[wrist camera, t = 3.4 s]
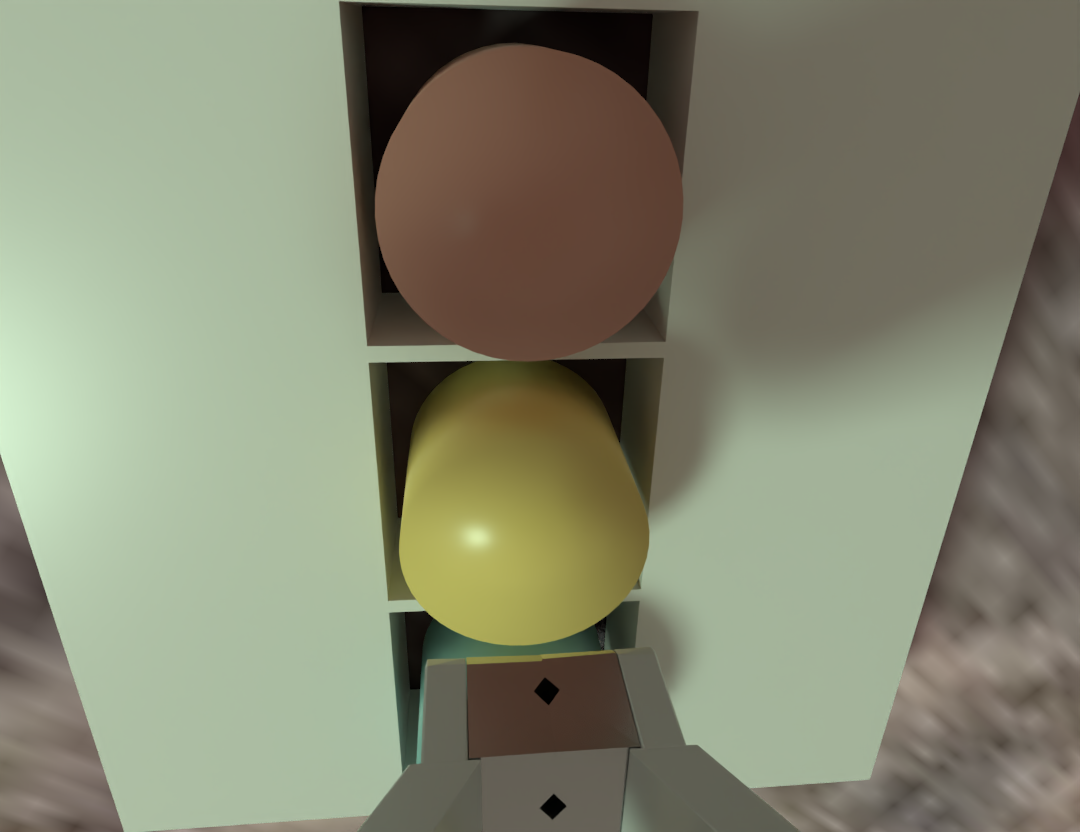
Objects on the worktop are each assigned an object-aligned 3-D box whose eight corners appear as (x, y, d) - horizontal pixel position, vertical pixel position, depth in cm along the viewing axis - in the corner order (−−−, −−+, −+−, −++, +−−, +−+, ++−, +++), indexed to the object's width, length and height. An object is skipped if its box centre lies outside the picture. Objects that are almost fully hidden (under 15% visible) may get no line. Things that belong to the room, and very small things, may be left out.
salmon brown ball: (641, 45, 13) (700, 52, 10) (623, 289, 15) (668, 358, 12) (385, 39, 13) (362, 44, 9) (400, 291, 14) (385, 363, 11)
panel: (998, -33, 14) (1121, -46, 12) (819, 689, 22) (869, 779, 20) (-45, -68, 13) (-179, -92, 10) (167, 728, 21) (124, 833, 18)
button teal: (603, 575, 18) (633, 692, 15) (593, 709, 20) (619, 837, 17) (417, 584, 17) (409, 705, 14) (426, 719, 19) (420, 852, 16)
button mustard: (619, 352, 15) (660, 435, 12) (606, 528, 17) (639, 639, 14) (404, 356, 15) (390, 442, 12) (415, 536, 17) (405, 651, 14)
